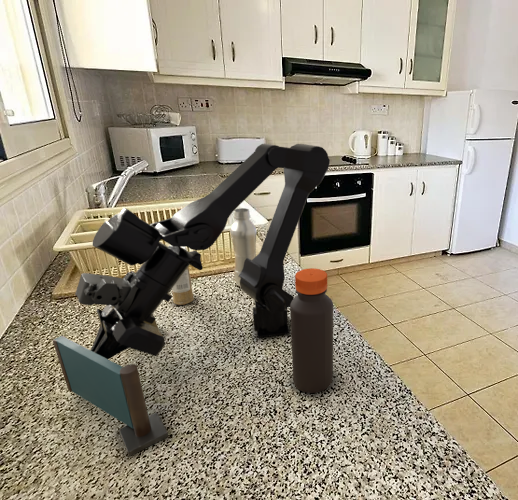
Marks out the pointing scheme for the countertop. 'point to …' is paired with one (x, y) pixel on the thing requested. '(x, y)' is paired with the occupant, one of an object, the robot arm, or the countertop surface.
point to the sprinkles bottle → (183, 289)
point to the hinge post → (139, 415)
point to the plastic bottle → (242, 240)
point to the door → (93, 378)
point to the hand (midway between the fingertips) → (90, 364)
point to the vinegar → (312, 332)
